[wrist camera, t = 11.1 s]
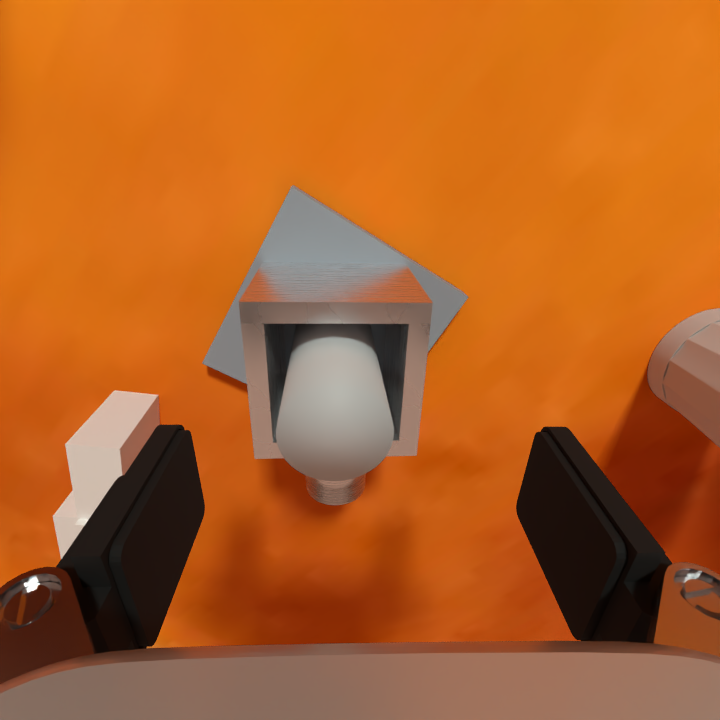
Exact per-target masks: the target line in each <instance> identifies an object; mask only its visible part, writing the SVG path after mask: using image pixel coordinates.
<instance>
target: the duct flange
mask: <svg viewBox="0 0 720 720" xmlns="http://www.w3.org/2000/svg"><path fill="white" fill-rule="evenodd" d="M263 262H318V263H401V264H406V265H407V266H408V268H409V269H410V271H411V272H412V273H413V275H414V276H415V278H416V279H417V281H418V282H419V284H420V285H421V286H422V288H423V289H424V291H425V292H426V294H427V295H428V297H429V298H430V299H431V301H432V302H433V306H432V316H431V325H430V334H429V344H428V352H429V350H430V349H431V348H432V346H433V345H434V343H435V342H436V341H437V339H438V338H439V337H440V335H441V334H442V333H443V331H444V330H445V328H446V327H447V326H448V324H449V323H450V322H451V320H452V319H453V318H454V316H455V315H456V313H457V312H458V311H459V309H460V308H461V307H462V305H463V304H464V303H465V301H466V300H467V298H468V296H467V295H466V294H465V293H464V292H463V291H461V290H460V289H458V288H456V287H455V286H453V285H452V284H450V283H448V282H447V281H445V280H444V279H442V278H440V277H439V276H437V275H436V274H434V273H432V272H431V271H429V270H428V269H426V268H424V267H423V266H421V265H420V264H418V263H417V262H415V261H413V260H412V259H410V258H409V257H407V256H405V255H404V254H402V253H401V252H399V251H397V250H396V249H394V248H393V247H391V246H389V245H388V244H386V243H385V242H383V241H381V240H380V239H378V238H377V237H375V236H373V235H372V234H370V233H369V232H367V231H366V230H364V229H362V228H361V227H359V226H358V225H356V224H354V223H353V222H351V221H350V220H348V219H346V218H345V217H343V216H342V215H340V214H338V213H337V212H335V211H334V210H332V209H330V208H329V207H327V206H326V205H324V204H322V203H321V202H319V201H318V200H316V199H315V198H313V197H311V196H310V195H308V194H307V193H305V192H303V191H302V190H300V189H299V188H297V187H295V186H294V185H293V186H292V187H291V189H290V190H289V192H288V194H287V196H286V198H285V200H284V202H283V204H282V206H281V208H280V210H279V212H278V214H277V216H276V218H275V220H274V222H273V224H272V226H271V228H270V230H269V232H268V234H267V236H266V238H265V240H264V242H263V244H262V246H261V248H260V250H259V252H258V254H257V256H256V258H255V260H254V262H253V264H252V266H251V268H250V270H249V272H248V274H247V276H246V278H245V280H244V281H243V283H242V285H241V287H240V289H239V291H238V293H237V295H236V297H235V299H234V301H233V303H232V305H231V307H230V309H229V311H228V313H227V315H226V317H225V319H224V321H223V323H222V325H221V327H220V329H219V331H218V333H217V335H216V337H215V339H214V341H213V343H212V345H211V347H210V349H209V351H208V353H207V355H206V357H205V359H204V361H203V363H202V364H205V365H207V366H209V367H211V368H213V369H215V370H218V371H220V372H222V373H224V374H226V375H228V376H230V377H233V378H235V379H237V380H239V381H241V382H243V383H246V384H247V379H246V369H245V360H244V350H243V340H242V331H241V321H240V311H239V300H240V299H241V297H242V295H243V294H244V292H245V290H246V289H247V287H248V286H249V284H250V282H251V281H252V279H253V277H254V276H255V274H256V273H257V271H258V269H259V268H260V266H261V264H262V263H263ZM385 328H386V324H284V339H285V357H286V374H287V375H286V380H285V386H284V391H283V396H282V401H281V406H280V411H279V416H278V422H277V427H276V440H277V445H278V448H279V450H280V452H281V454H282V456H283V457H284V459H285V460H286V461H287V462H288V463H289V464H290V465H291V466H292V467H293V468H294V469H296V470H297V471H299V472H300V473H302V474H304V475H306V476H309V477H312V478H315V479H319V480H325V481H343V480H349V479H353V478H356V477H359V476H361V475H364V474H365V473H367V472H369V471H371V470H372V469H374V468H375V467H376V466H377V465H378V464H380V463H381V461H382V460H383V459H384V458H385V457H386V455H387V454H388V452H389V450H390V448H391V445H392V442H393V437H394V426H393V421H392V416H391V412H390V408H389V404H388V400H387V395H386V391H385V387H384V383H383V378H382V374H381V373H383V363H384V345H385Z"/></svg>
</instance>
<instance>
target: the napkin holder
mask: <svg viewBox="0 0 720 720" xmlns="http://www.w3.org/2000/svg"><path fill="white" fill-rule="evenodd" d="M158 425H160V418H159V396H158V395H154V394H144V393H135V392H125V391H115V390H114V391H113V393H112V394H111V395H110V396H109V397H108V398H107V399H106V400H105V401H104V402H103V403H102V405H101V406H100V407H99V408H98V409H97V410H96V411H95V412H94V413H93V414H92V415H91V417H90V418H89V419H88V420H87V421H86V422H85V423H84V424H83V425H82V426H81V428H80V429H79V430H78V431H77V432H76V433H75V434H74V435H73V436H72V437H71V438H70V440H69V441H68V442H67V443H66V444H65V446H66V452H67V458H68V464H69V470H70V476H71V482H72V488H73V491H72V492H71V493H70V495H69V496H68V497H67V498H66V500H65V501H64V502H63V504H62V505H61V506H60V508H59V509H58V510H57V511H56V513H55V514H54V515H53V520H54V525H55V530H56V535H57V540H58V545H59V550H60V555H61V559H62V558H63V556H64V555H65V553H66V552H67V550H68V549H69V547H70V546H71V545H72V543H73V542H74V540H75V539H76V537H77V536H78V534H79V533H80V531H81V530H82V528H83V527H84V526H85V524H86V523H87V521H88V520H89V518H90V517H91V515H92V514H93V512H94V511H95V509H96V508H97V507H98V505H99V504H100V502H101V501H102V499H103V498H104V496H105V495H106V493H107V492H108V490H109V489H110V488H111V486H112V485H113V483H114V482H115V481H116V479H117V478H118V477H120V476H122V475H125V473H126V472H127V470H128V469H129V467H130V466H131V464H132V463H133V461H134V460H135V458H136V457H137V455H138V454H139V452H140V451H141V449H142V448H143V446H144V445H145V443H146V442H147V440H148V439H149V437H150V436H151V434H152V433H153V431H154V430H155V428H156V427H157V426H158Z"/></svg>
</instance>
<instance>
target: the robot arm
mask: <svg viewBox="0 0 720 720" xmlns="http://www.w3.org/2000/svg"><path fill="white" fill-rule="evenodd" d="M516 509H517V515H518V518H519V520H520V522H521V524H522V527H523V529H524V531H525V533H526V535H527V537H528V540H529V542H530V544H531V546H532V548H533V550H534V553H535V555H536V557H537V559H538V561H539V564H540V566H541V568H542V570H543V572H544V574H545V577H546V579H547V581H548V583H549V585H550V587H551V590H552V592H553V594H554V596H555V598H556V600H557V603H558V605H559V607H560V609H561V611H562V613H563V616H564V618H565V620H566V622H567V624H568V627H569V629H570V631H571V633H572V635H573V636H574V637H575V639H577V640H581V641H484V642H401V643H336V644H284V645H235V646H200V647H174V648H148V649H146V647H147V646H153V645H154V643H155V642H156V640H157V637H158V635H159V632H160V629H161V627H162V624H163V622H164V619H165V616H166V614H167V611H168V608H169V606H170V603H171V601H172V598H173V595H174V593H175V590H176V587H177V585H178V582H179V580H180V577H181V574H182V572H183V569H184V567H185V564H186V561H187V559H188V556H189V553H190V551H191V548H192V546H193V543H194V540H195V538H196V535H197V532H198V530H199V527H200V525H201V522H202V519H203V516H204V510H205V505H204V499H203V493H202V488H201V483H200V478H199V473H198V467H197V462H196V457H195V452H194V446H193V441H192V436H191V432H190V431H189V430H184V427H183V426H182V425H158V426H157V427H156V428H155V430H154V431H153V433H152V434H151V436H150V437H149V439H148V440H147V442H146V443H145V445H144V446H143V448H142V449H141V451H140V452H139V454H138V455H137V457H136V458H135V460H134V461H133V463H132V464H131V466H130V467H129V469H128V470H127V472H126V473H125V475H122V476H120V477H118V478H117V479H116V481H115V482H114V483H113V485H112V486H111V488H110V489H109V490H108V492H107V493H106V495H105V496H104V498H103V499H102V501H101V502H100V504H99V505H98V507H97V508H96V509H95V511H94V512H93V514H92V515H91V517H90V518H89V520H88V521H87V523H86V524H85V526H84V527H83V528H82V530H81V531H80V533H79V534H78V536H77V537H76V539H75V540H74V542H73V543H72V545H71V546H70V547H69V549H68V550H67V552H66V553H65V555H64V556H63V558H62V559H61V561H60V562H59V564H58V565H57V566H56V567H43V568H38V569H33V570H31V571H28V572H26V573H23V574H21V575H19V576H17V577H15V578H14V579H12V580H10V581H9V582H7V583H6V584H4V585H3V586H2V587H1V588H0V720H720V575H719V574H717V573H715V572H714V571H712V570H710V569H708V568H705V567H703V566H700V565H697V564H693V563H688V562H678V563H674V564H672V562H671V561H670V560H669V559H668V557H667V556H666V555H665V552H664V550H663V549H662V548H661V546H660V545H659V544H658V543H657V541H656V540H655V539H654V537H653V536H652V535H651V534H650V532H649V531H648V530H647V529H646V527H645V526H644V525H643V523H642V522H641V521H640V520H639V518H638V517H637V516H636V514H635V513H634V512H633V511H632V509H631V508H630V507H629V505H628V504H627V503H626V502H625V500H624V499H623V498H622V496H621V495H620V494H619V493H618V491H617V490H616V489H615V487H614V486H613V485H612V484H611V482H610V481H609V480H608V478H607V477H606V476H605V475H604V473H603V472H602V471H601V470H600V468H599V467H598V466H597V464H596V463H595V462H594V461H593V459H592V458H591V457H590V455H589V454H588V453H587V452H586V450H585V449H584V448H583V446H582V445H581V444H580V443H579V441H578V440H577V439H576V437H575V436H574V435H573V434H572V432H571V431H570V430H569V429H568V428H567V427H543V429H542V430H541V432H537V433H536V434H535V437H534V440H533V444H532V448H531V452H530V455H529V459H528V463H527V466H526V470H525V474H524V478H523V481H522V485H521V489H520V493H519V496H518V500H517V505H516Z"/></svg>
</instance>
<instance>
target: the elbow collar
mask: <svg viewBox="0 0 720 720" xmlns="http://www.w3.org/2000/svg"><path fill="white" fill-rule="evenodd" d="M432 306H433V302H432V301H431V299H430V298H429V297H428V295H427V294H426V292H425V291H424V289H423V288H422V286H421V285H420V284H419V282H418V281H417V279H416V278H415V276H414V275H413V273H412V272H411V271H410V269H409V268H408V266H407V265H406V264H401V263H318V262H263V263H262V264H261V266H260V268H259V269H258V271H257V273H256V274H255V276H254V277H253V279H252V281H251V282H250V284H249V286H248V287H247V289H246V290H245V292H244V294H243V295H242V297H241V299H240V300H239V311H240V321H241V331H242V340H243V350H244V360H245V369H246V379H247V389H248V399H249V408H250V418H251V428H252V437H253V447H254V457H255V459H271V458H284V457H283V456H282V454H281V452H280V450H279V448H278V445H277V440H276V427H277V422H278V416H279V411H280V406H281V401H282V396H283V391H284V386H285V380H286V375H287V374H286V357H285V339H284V324H386V328H385V345H384V363H383V373H381V374H382V378H383V383H384V387H385V391H386V395H387V400H388V404H389V408H390V412H391V416H392V421H393V426H394V437H393V442H392V445H391V448H390V450H389V452H388V454H387V455H386V456H417V446H418V437H419V428H420V418H421V409H422V400H423V390H424V381H425V372H426V362H427V353H428V344H429V334H430V325H431V316H432ZM365 477H366V473H365V474H364V475H361V476H359V477H356V478H353V479H349V480H343V481H325V480H319V479H315V478H312V477H309V476H306V488H307V491H308V493H309V495H310V496H311V497H312V498H313V499H315V500H316V501H318V502H320V503H323V504H327V505H343V504H347V503H350V502H352V501H354V500H356V499H357V498H358V497H359V496H360V495H361V494H362V493H363V491H364V489H365Z"/></svg>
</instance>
